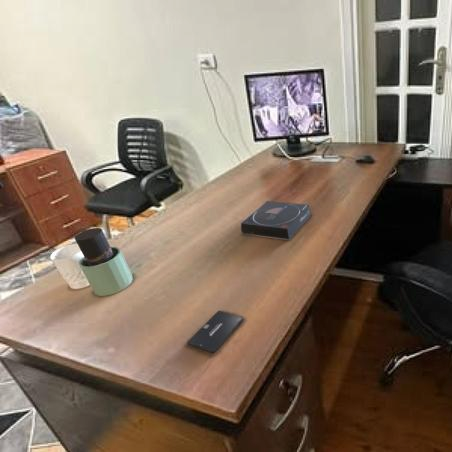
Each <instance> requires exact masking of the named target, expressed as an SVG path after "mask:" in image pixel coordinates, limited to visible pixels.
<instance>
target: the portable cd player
mask: <svg viewBox="0 0 452 452" xmlns="http://www.w3.org/2000/svg"><path fill="white" fill-rule="evenodd" d="M311 216H312V211H311V204H306V203H294V202H283V201H282V202H281V201H274V200H273V201H272V200H271V201H270V200H266V201H265V202H264V203H263V204H262V205H261V206H259V207H258V208H257V209H256V210H255V211H254V212H252V214H250V215H249V216H248V217H246V218H245V219H244V220H243V221H241V223H240V232H242V234H243V235H245V236H246V235H247V236H253V237H261V238H269V239H276V240H282V241H290V240H291V239H292V238H293V237H294V236H295V234H296V233H297V232H298V231H299V230H300V229H301V228H302V227H303V226H304V224H305V223H306V222H307V221H308V220H309V219H310V217H311Z"/></svg>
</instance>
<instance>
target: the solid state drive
mask: <svg viewBox="0 0 452 452" xmlns="http://www.w3.org/2000/svg"><path fill="white" fill-rule="evenodd" d="M243 321H244V318H243V317H242V316H239V315H235V314H232V313H229V312H225V311H222V310H217V312H216V313H214V314H213V316H211V318H209V319H208V321H207V322H206V323H204V324H203V326H201V328H200V329H199V330H198V331H196V333H194V334H193V335H192V337H190V339H188V341H187V343H186V344H187V345H188V346H190V347H193V348H196V349H198V350H201V351H204V352H206V353H209V354H211V355H213V354H215V353H216V352H217V350H219V348H220V347H221V346H223V344H224V343H225V341H226V340H227V339H228V338H229V337H230V336H231V335H232V333H233V332H234V331H235V330H236V329H237V328H238V327H239V326H240V325H241V324H242V322H243Z"/></svg>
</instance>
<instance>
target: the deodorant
mask: <svg viewBox="0 0 452 452" xmlns="http://www.w3.org/2000/svg"><path fill="white" fill-rule="evenodd" d="M74 240H75V242H76V244H78V246H79V248H80V250H81V252H82V254H83V256H84V257H85V259H86V261H87V263H88V265H89V267H90V266H96V265H100V264H103V263H105V262H107V261H109V260H111V259H113V258H114V257H115V256H114V254H113V252H112V250H111V247H112V246H111V245H110V243H109V241H108V239H107V237H106V236H105V233H104V231H103V229H102V228H101V227H92V228H88V229H85V230H83V231H81V232H79V233H77V234H76V235H75V236H74Z"/></svg>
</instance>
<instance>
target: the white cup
mask: <svg viewBox="0 0 452 452" xmlns="http://www.w3.org/2000/svg"><path fill="white" fill-rule="evenodd" d="M83 257H84V256H83V254H82V252H81V250H80V248H79V246H78V244H77V243H71V244H68V245H65V246H63V247H60V248H58V249H56V250H55V251H53V252H52V253H51V254H50V255H49V259H50V261H51V262H52V264H53V265H54V267H55V268H56V269H57V271H58V272H59V274H60V276H61V277H62V278H63V279H64V281H65V282H66V284H68V287H69V288H70V289H72V290H81V289H84V288H86V287H89V286H90V284H89V282H88V280H87V279H86V277H85V275H84V273H83V271H82V269H81V267H80V265H79V262H80V260H81V259H82V258H83Z"/></svg>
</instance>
